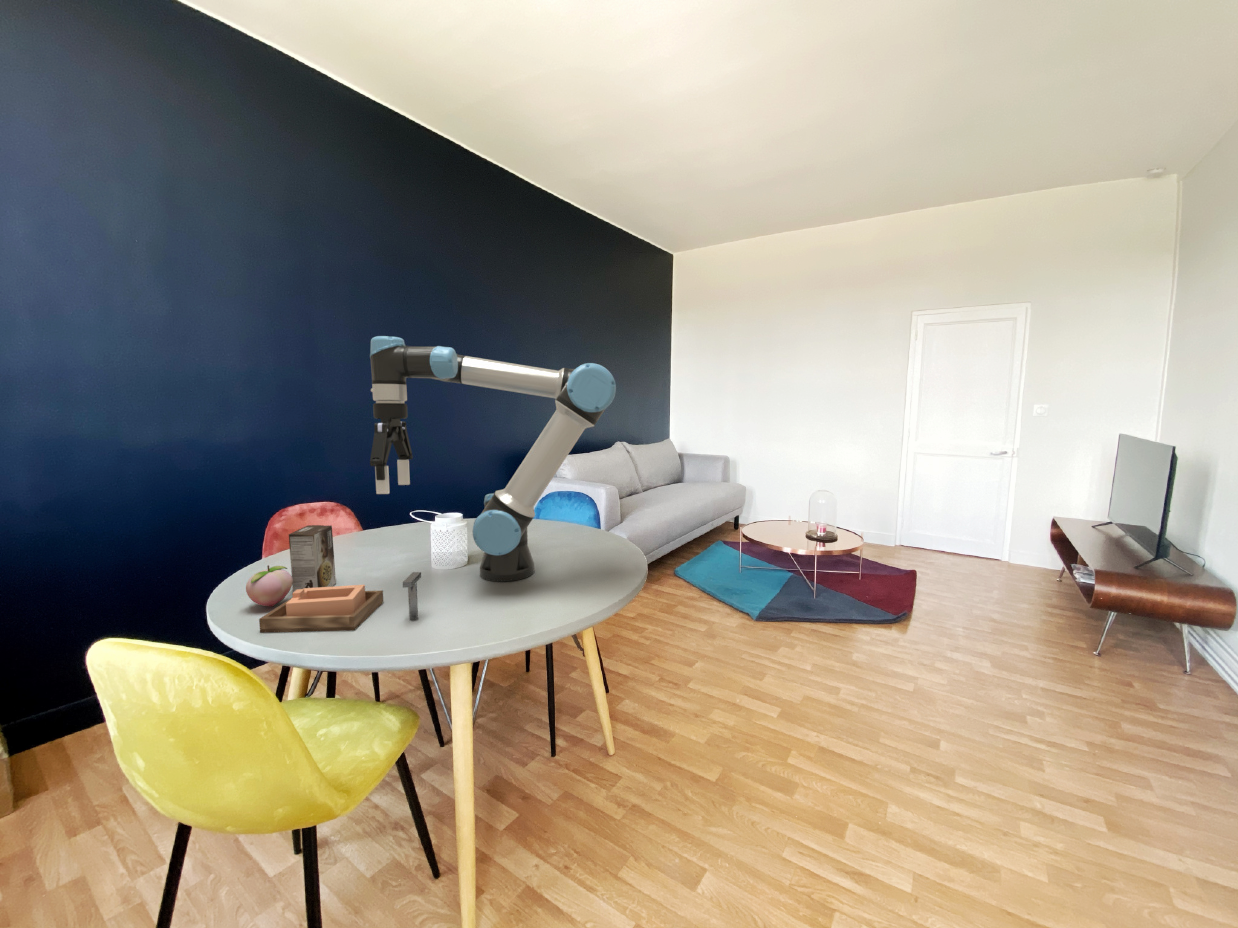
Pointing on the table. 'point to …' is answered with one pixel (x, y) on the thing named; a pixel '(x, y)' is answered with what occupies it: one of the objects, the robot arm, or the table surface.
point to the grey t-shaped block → (412, 594)
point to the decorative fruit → (269, 586)
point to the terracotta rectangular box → (326, 601)
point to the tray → (320, 618)
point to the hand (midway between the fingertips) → (394, 489)
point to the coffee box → (312, 557)
